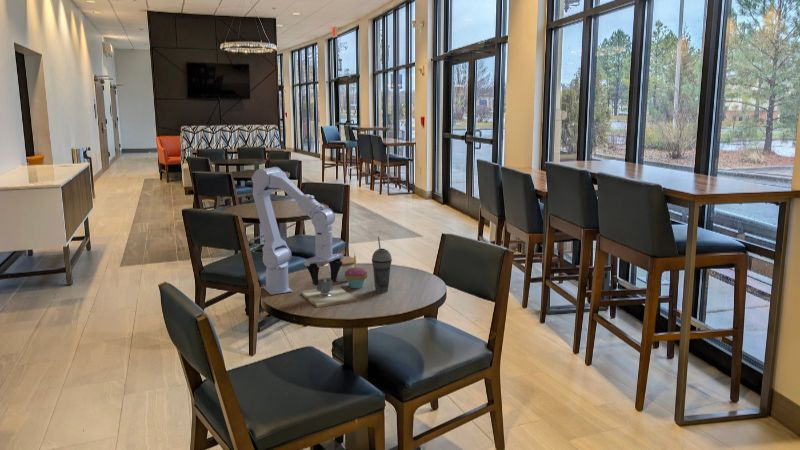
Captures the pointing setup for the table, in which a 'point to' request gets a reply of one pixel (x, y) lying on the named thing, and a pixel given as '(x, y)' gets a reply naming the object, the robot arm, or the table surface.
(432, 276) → the table surface
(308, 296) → the board
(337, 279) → the lidded jar
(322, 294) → the stud
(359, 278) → the cupcake
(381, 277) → the beverage cup
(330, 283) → the cap
